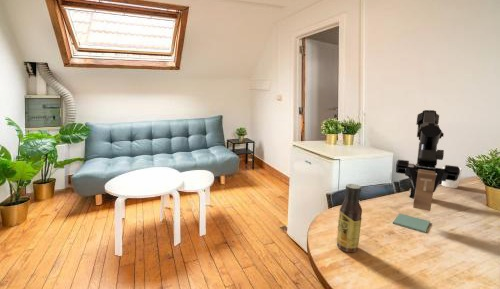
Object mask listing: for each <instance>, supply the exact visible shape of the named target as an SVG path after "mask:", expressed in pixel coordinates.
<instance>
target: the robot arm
mask: <svg viewBox="0 0 500 289" xmlns="http://www.w3.org/2000/svg"><path fill="white" fill-rule="evenodd" d="M439 120H440V114H438V113H437V111H436V110H434V109H433V110H431V109H428V110H426V109H423V110H422V112H420V113H418V114H417V116H416V123H415V124H416V126H417V131H416V132H417V133H416V138H418V141H419V142H418V148H417V149H418V150H417V158H416V159H417V160H416V163H410V161H409V160H405V159H397V160H396V165H395V173H397V174H402V175H405V176H406V177H408V179H409V185H411V187H410V195H408V197H409V198H412V199H414V196H415V189H416V182H417V175H418V169H422V170H430V171H435V172H436V178H435V185H434V191H433V193H435V192H436V190H437V188H438V187H439V185H440V184H442V181H446V180H452V181H456V180H457V179H458V176H459V173H460V168H461V167H459V166H456V165H449V164H444V166H445V168H444V169H443V168H440V167H437V165H438V161H439V160H440V161H442V160H443V159H444V154H445V153H444V152H445V151H444V149H438V144H439V140H441V139H442V138H444V132H443V131H442V129H441V128H440V126H439Z"/></svg>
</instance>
